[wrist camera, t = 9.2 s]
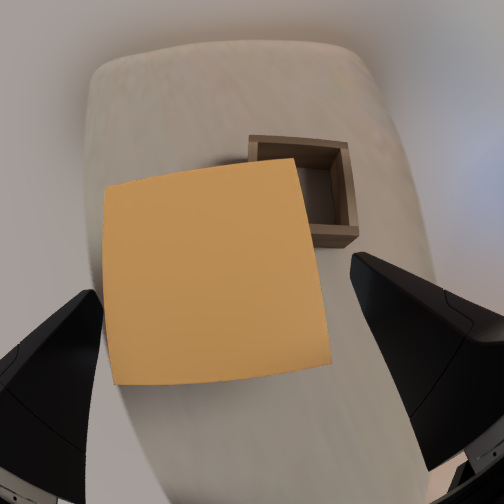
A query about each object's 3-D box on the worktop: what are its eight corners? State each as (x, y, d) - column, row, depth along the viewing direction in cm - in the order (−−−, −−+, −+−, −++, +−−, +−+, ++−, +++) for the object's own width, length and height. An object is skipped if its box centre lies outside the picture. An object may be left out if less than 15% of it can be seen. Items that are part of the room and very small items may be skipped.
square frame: (343, 248, 19) (359, 235, 16) (245, 245, 19) (245, 231, 16) (336, 163, 21) (347, 142, 18) (248, 158, 21) (248, 134, 18)
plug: (274, 334, 18) (332, 363, 5) (205, 342, 17) (114, 384, 5) (264, 267, 19) (293, 158, 6) (197, 275, 19) (105, 187, 6)
